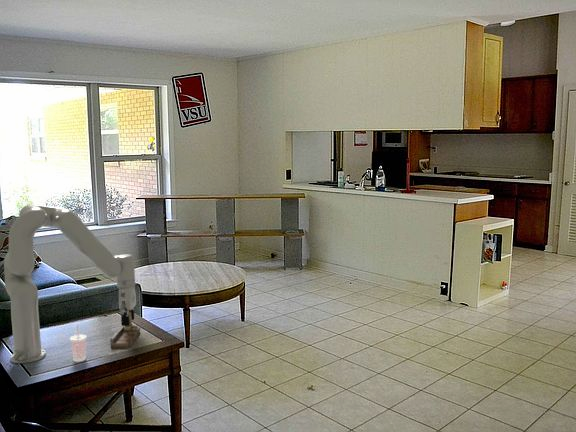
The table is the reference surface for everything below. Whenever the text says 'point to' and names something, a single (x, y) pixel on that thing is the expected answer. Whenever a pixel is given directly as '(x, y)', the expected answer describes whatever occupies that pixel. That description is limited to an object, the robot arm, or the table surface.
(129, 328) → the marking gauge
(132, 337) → the wooden slotted block
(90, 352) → the table surface
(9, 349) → the table surface
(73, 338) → the beverage cup
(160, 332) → the table surface
